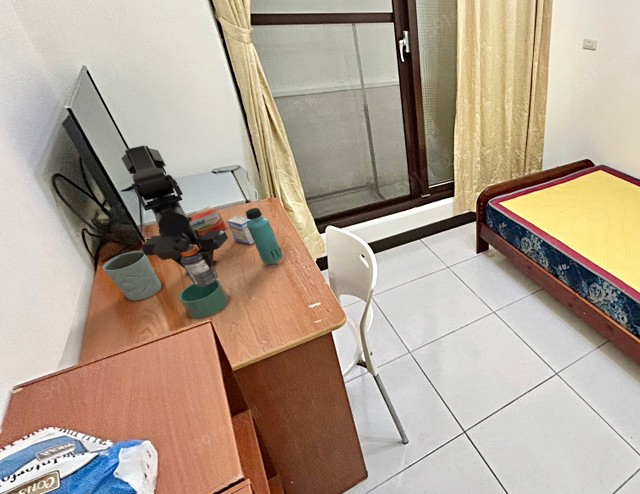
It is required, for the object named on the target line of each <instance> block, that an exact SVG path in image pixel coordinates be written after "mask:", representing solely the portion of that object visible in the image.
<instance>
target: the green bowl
mask: <svg viewBox="0 0 640 494" xmlns="http://www.w3.org/2000/svg"><path fill="white" fill-rule="evenodd" d="M178 300H179V301H180V304H181V305H182V306H183V308H184V310H185V311H186V313H187V314H188V316H189V317H191V318H193V319H203V318H207V317H209V316H212V315H214V314H216V313H218V312H220V311H221V310H223V309H224V308H225V307H226V306H227V305H228V302H229V297H228V294H227V293H226V291H225V289H224V287H223V285H222V283H221V281H219V280H218V279H216V280H215V281H214V282H212V283H211V284H208V285H205V286H196V285H194V283H192V284H190V285H188V286H186V288H183V290H182V291H181V292H180V293H179V295H178Z"/></svg>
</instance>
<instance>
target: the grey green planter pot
mask: <svg viewBox="0 0 640 494" xmlns="http://www.w3.org/2000/svg"><path fill="white" fill-rule="evenodd" d="M102 270H103V272H104V273H106V275H107V276H108V277H109V278H110V279H111V280H112V281H113V282H114V284H115V286H117V287H118V289H119V290H120V291H121V292H122V293H123V295H124V296H125V298H127V299H128V300H129V301H132V302H133V301H134V302H137V301H141V300H146V299H148V298H150V297H152V296H154V295H156V294H157V293H158V292H160V290H161V289H162V283H161V280H160V279H159V277H158V276H157V273H156V271H155V270H154V267H153V266H152V263H151V262H150V259H149V257H148V256H146V255H145V254H144V252H143V251H142V250H133V251H132V250H131V251H127V252H124V253H121V254H119V255H115V256H114V257H112V258H110V259H108V261H106V262H105V263H104V264H103V265H102Z"/></svg>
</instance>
